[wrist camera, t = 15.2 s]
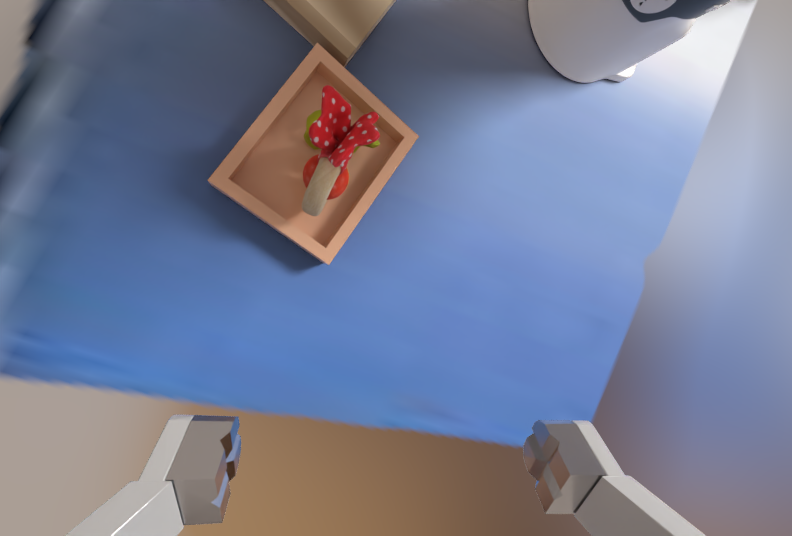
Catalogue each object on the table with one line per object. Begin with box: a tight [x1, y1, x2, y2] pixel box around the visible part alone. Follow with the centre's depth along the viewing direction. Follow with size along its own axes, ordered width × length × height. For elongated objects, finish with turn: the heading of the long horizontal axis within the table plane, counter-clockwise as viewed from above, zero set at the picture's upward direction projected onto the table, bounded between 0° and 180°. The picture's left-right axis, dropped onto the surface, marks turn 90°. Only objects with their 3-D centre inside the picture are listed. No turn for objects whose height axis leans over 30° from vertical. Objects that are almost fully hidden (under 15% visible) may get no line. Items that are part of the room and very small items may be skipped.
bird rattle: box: [302, 85, 380, 216], centre depth 28 cm, size 6×11×9 cm
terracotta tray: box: [208, 43, 419, 265], centre depth 32 cm, size 14×11×2 cm
